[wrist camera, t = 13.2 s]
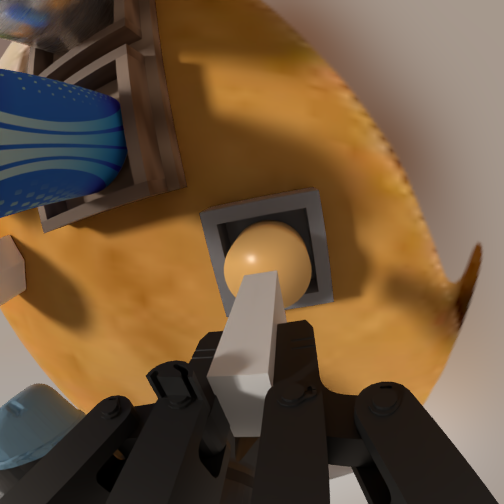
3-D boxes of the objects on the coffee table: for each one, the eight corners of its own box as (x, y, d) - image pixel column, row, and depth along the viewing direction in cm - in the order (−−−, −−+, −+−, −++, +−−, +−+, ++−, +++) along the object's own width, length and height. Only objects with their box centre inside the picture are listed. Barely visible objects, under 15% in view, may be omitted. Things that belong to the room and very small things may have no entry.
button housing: (327, 285, 22) (333, 301, 19) (233, 299, 23) (226, 317, 20) (313, 187, 19) (318, 190, 17) (210, 207, 21) (199, 213, 18)
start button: (311, 284, 19) (316, 304, 16) (241, 295, 20) (234, 316, 17) (300, 213, 18) (304, 222, 15) (225, 227, 19) (214, 238, 16)
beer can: (149, 98, 17) (-32, 41, 2) (127, 201, 20) (-56, 268, 5) (76, 97, 17) (-71, 81, 2) (60, 184, 20) (-85, 224, 5)
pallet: (186, 186, 20) (163, 191, 16) (68, 224, 23) (38, 235, 18) (152, -31, 14) (134, -52, 9) (53, 27, 16) (31, 18, 12)
